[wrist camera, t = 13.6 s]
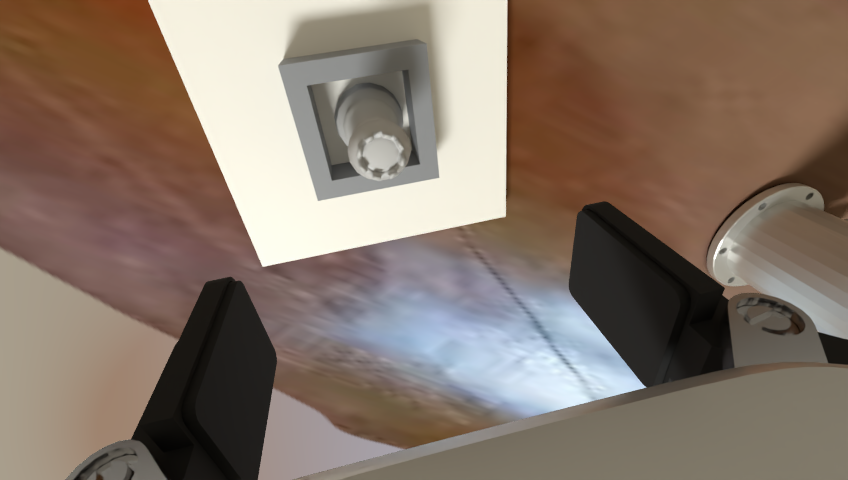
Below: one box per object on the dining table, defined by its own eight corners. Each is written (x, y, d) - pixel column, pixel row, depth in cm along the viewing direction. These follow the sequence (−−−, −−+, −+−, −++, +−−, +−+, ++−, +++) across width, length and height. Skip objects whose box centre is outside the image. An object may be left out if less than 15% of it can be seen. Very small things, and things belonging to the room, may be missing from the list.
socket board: (498, -90, 22) (530, -107, 19) (499, 208, 33) (519, 233, 30) (137, -50, 20) (96, -61, 17) (265, 256, 31) (257, 289, 28)
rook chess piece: (350, 158, 27) (357, 210, 20) (322, 95, 24) (319, 131, 18) (410, 136, 27) (436, 180, 20) (388, 70, 24) (409, 97, 18)
